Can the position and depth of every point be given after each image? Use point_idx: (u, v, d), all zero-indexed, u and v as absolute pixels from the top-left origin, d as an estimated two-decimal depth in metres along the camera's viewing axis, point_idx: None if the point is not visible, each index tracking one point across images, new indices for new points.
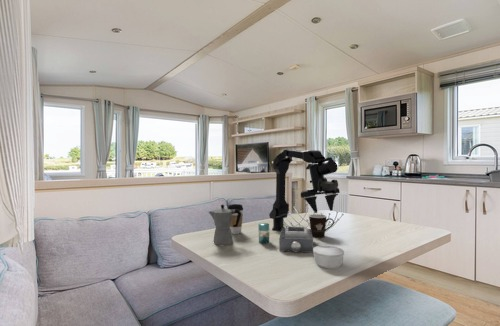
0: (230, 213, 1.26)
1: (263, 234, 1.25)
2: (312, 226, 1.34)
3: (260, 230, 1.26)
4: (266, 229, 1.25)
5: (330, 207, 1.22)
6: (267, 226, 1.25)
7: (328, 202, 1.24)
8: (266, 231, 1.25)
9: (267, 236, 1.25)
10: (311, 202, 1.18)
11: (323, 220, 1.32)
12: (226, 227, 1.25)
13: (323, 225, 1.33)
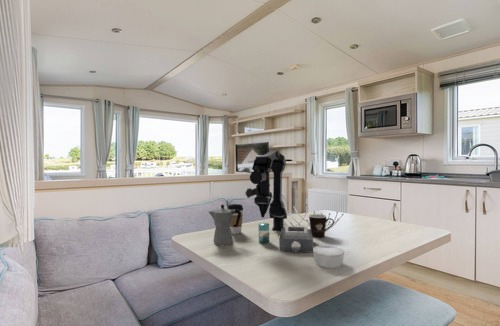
0: (230, 213, 1.26)
1: (263, 234, 1.25)
2: (312, 226, 1.34)
3: (260, 230, 1.26)
4: (266, 229, 1.25)
5: None
6: (267, 226, 1.25)
7: None
8: (266, 231, 1.25)
9: (267, 236, 1.25)
10: None
11: (323, 220, 1.32)
12: (226, 227, 1.25)
13: (323, 225, 1.33)
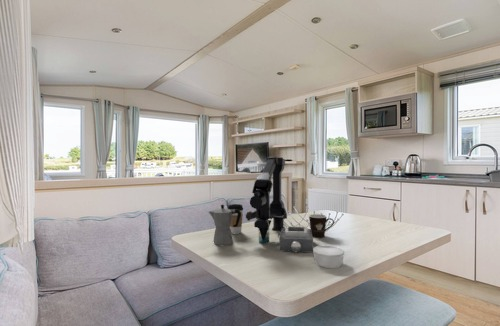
0: (230, 213, 1.26)
1: None
2: (312, 226, 1.34)
3: None
4: None
5: None
6: None
7: None
8: None
9: (267, 236, 1.25)
10: None
11: (323, 220, 1.32)
12: (226, 227, 1.25)
13: (323, 225, 1.33)
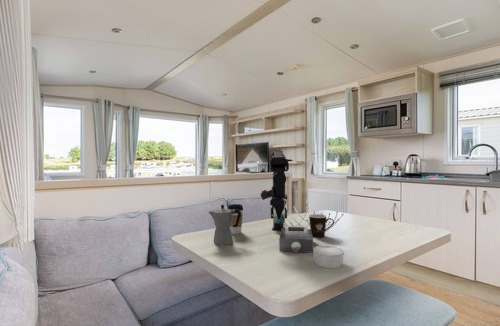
0: (230, 213, 1.26)
1: None
2: (312, 226, 1.34)
3: None
4: None
5: None
6: None
7: None
8: None
9: (283, 216, 1.22)
10: None
11: (323, 220, 1.32)
12: (226, 227, 1.25)
13: (323, 225, 1.33)
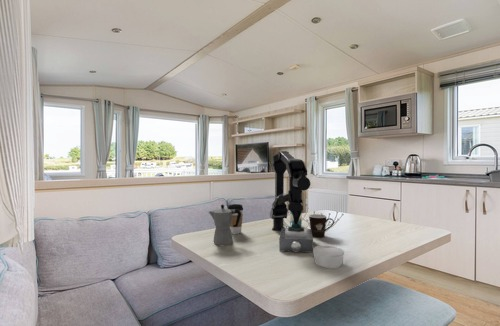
0: (230, 213, 1.26)
1: None
2: (312, 226, 1.34)
3: (292, 214, 1.20)
4: None
5: None
6: None
7: None
8: None
9: (300, 220, 1.20)
10: None
11: (323, 220, 1.32)
12: (226, 227, 1.25)
13: (323, 225, 1.33)
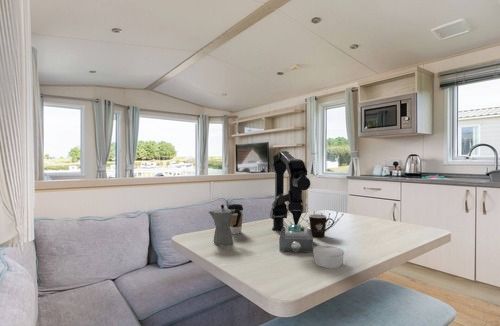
0: (230, 213, 1.26)
1: None
2: (312, 226, 1.34)
3: None
4: None
5: None
6: (299, 228, 1.19)
7: None
8: None
9: None
10: None
11: (323, 220, 1.32)
12: (226, 227, 1.25)
13: (323, 225, 1.33)
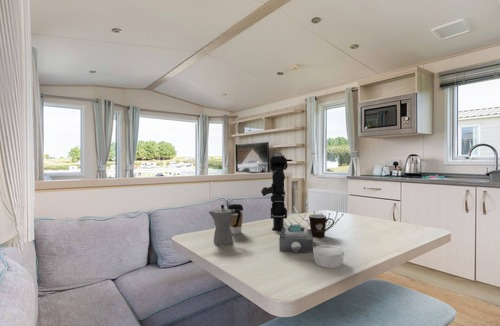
0: (230, 213, 1.26)
1: None
2: (312, 226, 1.34)
3: None
4: None
5: None
6: (299, 228, 1.19)
7: None
8: None
9: None
10: None
11: (323, 220, 1.32)
12: (226, 227, 1.25)
13: (323, 225, 1.33)
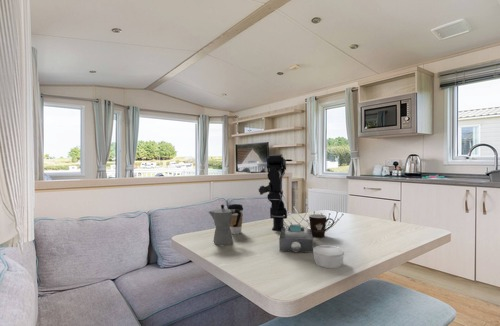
0: (230, 213, 1.26)
1: None
2: (312, 226, 1.34)
3: None
4: None
5: None
6: (299, 228, 1.19)
7: None
8: None
9: None
10: None
11: (323, 220, 1.32)
12: (226, 227, 1.25)
13: (323, 225, 1.33)
